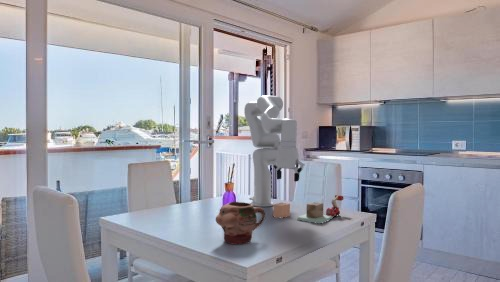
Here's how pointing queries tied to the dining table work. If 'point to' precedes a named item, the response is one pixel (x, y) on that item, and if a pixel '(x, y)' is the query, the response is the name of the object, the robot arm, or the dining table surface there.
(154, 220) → the dining table surface
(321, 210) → the walnut brick
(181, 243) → the dining table surface
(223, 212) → the brown sculpted mug
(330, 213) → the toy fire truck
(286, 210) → the terracotta brick
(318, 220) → the board
